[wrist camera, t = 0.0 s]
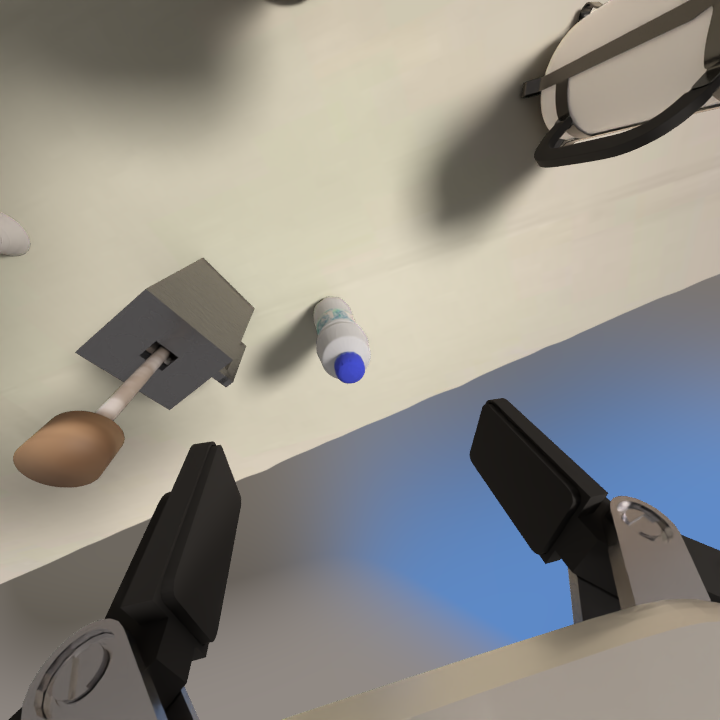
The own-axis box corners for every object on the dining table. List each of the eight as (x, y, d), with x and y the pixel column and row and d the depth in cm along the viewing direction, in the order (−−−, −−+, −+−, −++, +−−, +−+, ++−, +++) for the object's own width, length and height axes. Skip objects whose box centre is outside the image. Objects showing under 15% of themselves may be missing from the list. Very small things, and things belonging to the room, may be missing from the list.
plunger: (128, 330, 30) (-61, 469, 14) (173, 291, 29) (24, 393, 13) (185, 371, 34) (86, 517, 18) (227, 337, 33) (161, 460, 17)
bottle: (354, 324, 48) (386, 389, 31) (317, 334, 47) (329, 406, 30) (345, 287, 44) (376, 338, 27) (306, 298, 44) (312, 356, 27)
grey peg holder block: (156, 298, 40) (74, 352, 25) (203, 257, 38) (145, 288, 24) (225, 355, 46) (193, 424, 31) (268, 321, 45) (254, 377, 30)
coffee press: (529, -1, 32) (1452, -821, 6) (638, 12, 35) (1595, -530, 9) (495, 175, 41) (831, 123, 15) (584, 175, 43) (997, 131, 18)
